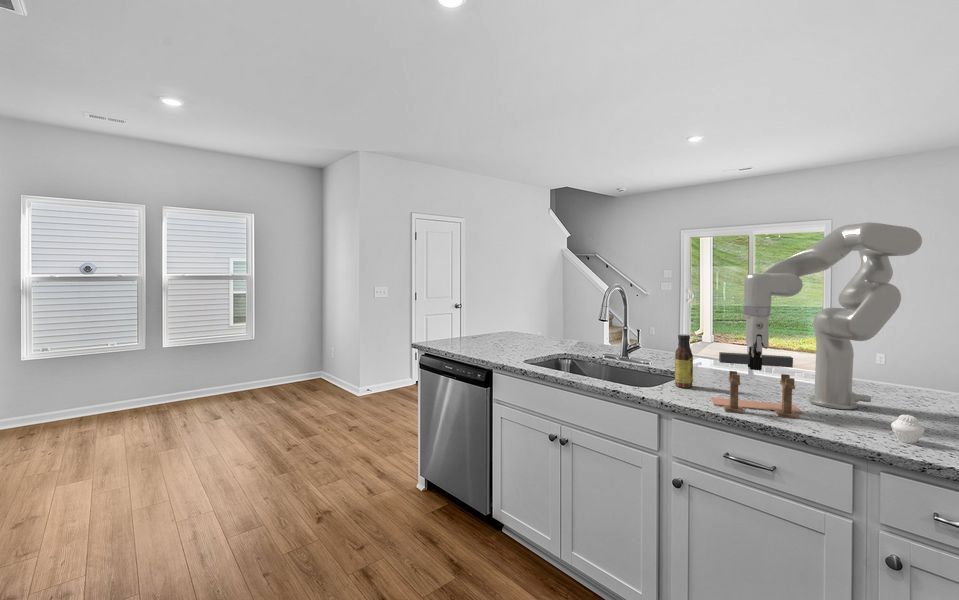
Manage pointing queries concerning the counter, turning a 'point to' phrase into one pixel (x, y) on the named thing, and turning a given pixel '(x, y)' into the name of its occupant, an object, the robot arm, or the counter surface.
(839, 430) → the counter surface
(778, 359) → the rail
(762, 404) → the mat
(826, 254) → the robot arm
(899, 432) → the muffin
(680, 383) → the sauce bottle
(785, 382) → the hook stands
